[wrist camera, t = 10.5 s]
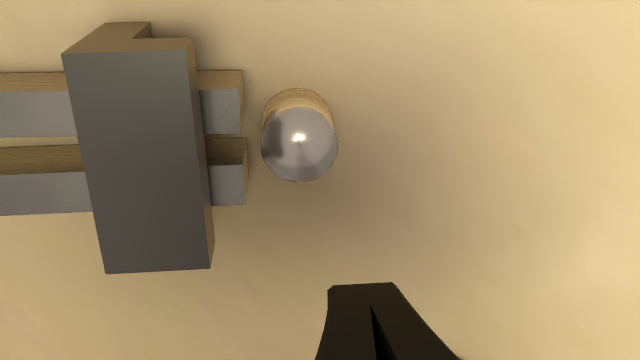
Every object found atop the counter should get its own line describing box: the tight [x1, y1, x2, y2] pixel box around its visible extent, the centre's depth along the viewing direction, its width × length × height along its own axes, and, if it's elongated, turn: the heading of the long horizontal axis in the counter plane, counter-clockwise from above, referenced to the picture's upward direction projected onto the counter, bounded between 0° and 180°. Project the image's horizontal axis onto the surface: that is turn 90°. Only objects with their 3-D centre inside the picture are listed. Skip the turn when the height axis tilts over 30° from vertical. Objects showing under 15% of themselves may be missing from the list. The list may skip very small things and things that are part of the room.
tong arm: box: [0, 70, 244, 138], centre depth 19 cm, size 2×12×2 cm, turn 90°
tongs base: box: [0, 89, 338, 216], centre depth 20 cm, size 4×15×2 cm, turn 91°
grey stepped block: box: [61, 22, 215, 274], centre depth 18 cm, size 7×3×4 cm, turn 1°
